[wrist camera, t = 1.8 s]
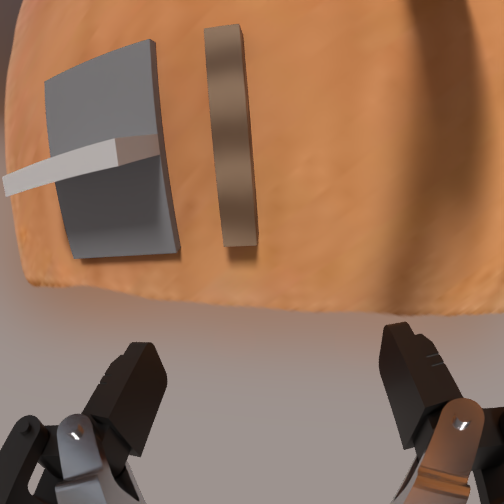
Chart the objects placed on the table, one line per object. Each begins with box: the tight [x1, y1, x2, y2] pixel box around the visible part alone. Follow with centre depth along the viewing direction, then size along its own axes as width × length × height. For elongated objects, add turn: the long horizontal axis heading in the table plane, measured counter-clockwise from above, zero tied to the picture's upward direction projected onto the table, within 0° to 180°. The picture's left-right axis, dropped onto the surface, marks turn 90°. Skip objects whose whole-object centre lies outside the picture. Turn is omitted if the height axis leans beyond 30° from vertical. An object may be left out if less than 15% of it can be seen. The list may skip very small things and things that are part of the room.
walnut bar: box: [204, 24, 259, 247], centre depth 24 cm, size 20×3×4 cm, turn 4°
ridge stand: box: [2, 39, 181, 259], centre depth 23 cm, size 22×14×10 cm, turn 5°
